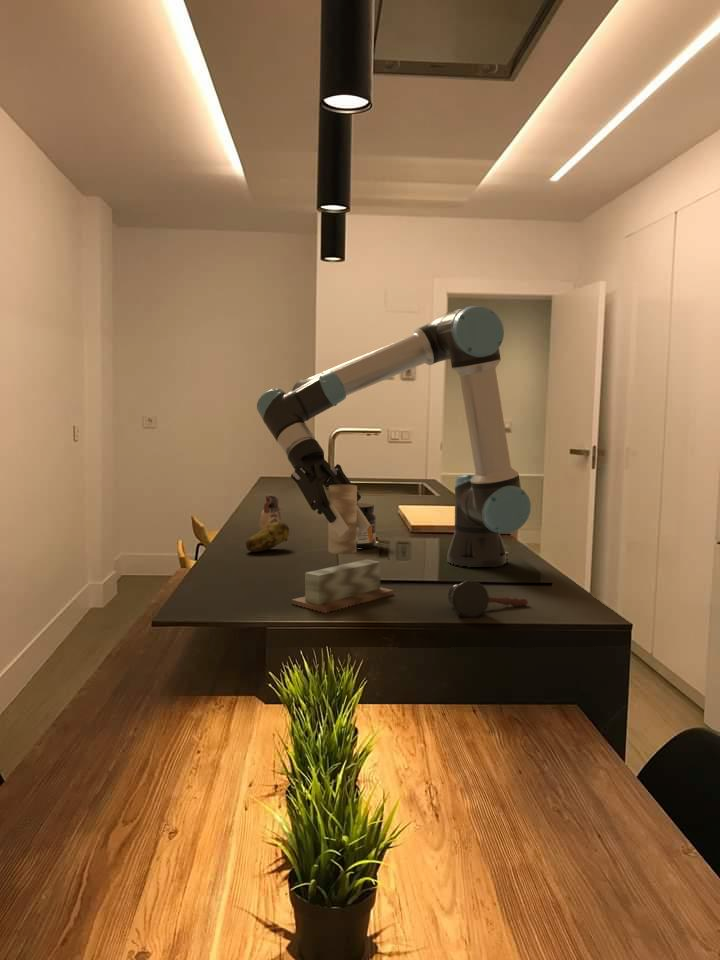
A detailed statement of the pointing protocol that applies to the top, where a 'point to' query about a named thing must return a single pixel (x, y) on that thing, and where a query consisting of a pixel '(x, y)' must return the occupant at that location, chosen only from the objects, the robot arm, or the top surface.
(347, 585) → the stand
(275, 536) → the potato
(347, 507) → the rod
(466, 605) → the coffee pot
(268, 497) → the figurine
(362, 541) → the supplement container
